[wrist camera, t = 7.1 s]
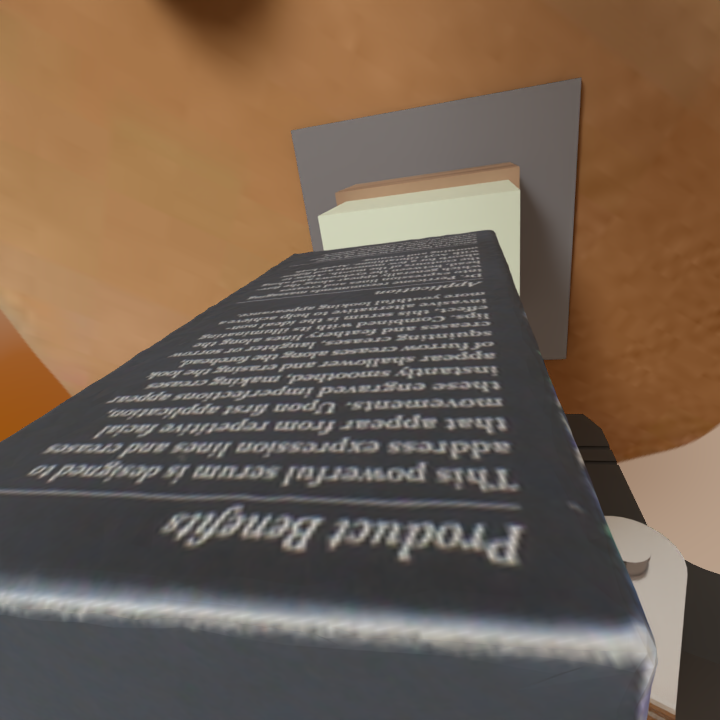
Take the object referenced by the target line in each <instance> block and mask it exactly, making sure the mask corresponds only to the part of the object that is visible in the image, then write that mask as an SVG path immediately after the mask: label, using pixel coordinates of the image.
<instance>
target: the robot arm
mask: <svg viewBox="0 0 720 720" xmlns="http://www.w3.org/2000/svg"><path fill="white" fill-rule="evenodd" d="M565 415H566V417H567V420H568V423H569V426H570V429H571V432H572V436H573V438H574V440H575V442H576V445H577V447H578V449H579V452H580V454H581V457H582V459H583V461H584V464H585V466H586V469H587V471H588V474H589V476H590V478H591V481H592V484H593V487H594V489H595V492H596V495H597V498H598V501H599V504H600V506H601V509H602V512H603V514H604V517H605V519H606V522H607V524H608V527H609V529H610V531H611V534H612V536H613V539H614V541H615V543H616V546H617V548H618V550H619V553H620V555H621V557H622V560H623V562H624V564H625V566H626V569H627V571H628V573H629V576H630V578H631V580H632V583H633V585H634V587H635V590H636V592H637V595H638V597H639V600H640V603H641V605H642V608H643V610H644V613H645V616H646V618H647V621H648V624H649V626H650V629H651V631H652V634H653V637H654V639H655V644H656V649H657V658H658V664H657V668H656V672H655V676H654V680H653V683H652V687H651V694H650V701H649V709H648V715H647V720H720V574H717V573H714V572H710V571H708V570H705V569H702V568H700V567H698V566H696V565H693V564H691V563H690V562H688V561H686V560H684V558H683V556H682V555H681V553H680V552H679V550H678V549H677V548H676V546H675V545H674V544H673V543H672V542H670V540H669V539H667V538H666V537H665V536H664V535H662V534H661V533H659V532H658V531H656V530H654V529H653V528H651V527H649V526H647V524H646V522H645V520H644V518H643V515H642V513H641V511H640V509H639V507H638V505H637V503H636V501H635V499H634V497H633V494H632V493H631V490H630V489H629V486H628V484H627V482H626V480H625V478H624V476H623V473H622V471H621V469H620V467H619V465H617V461H616V459H615V457H614V455H613V452H612V450H610V448H609V444H608V442H607V440H606V438H605V436H604V434H603V431H602V429H601V428H600V427H598V426H597V425H596V424H595V423H593V422H592V421H591V420H590V419H588V418H587V417H586V416H585V415H583V414H565Z"/></svg>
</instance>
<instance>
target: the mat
mask: <svg viewBox="0 0 720 720" xmlns="http://www.w3.org/2000/svg"><path fill="white" fill-rule="evenodd" d="M580 95H581V78H576V79H570V80H565V81H559V82H554V83H548V84H543V85H537V86H532V87H526V88H521V89H516V90H510V91H505V92H499V93H494V94H488V95H483V96H477V97H472V98H466V99H461V100H455V101H450V102H445V103H439V104H434V105H428V106H423V107H417V108H412V109H406V110H401V111H395V112H390V113H384V114H379V115H374V116H368V117H363V118H357V119H352V120H346V121H341V122H335V123H330V124H324V125H319V126H313V127H308V128H303V129H297V130H292V131H291V134H292V139H293V144H294V150H295V155H296V160H297V166H298V171H299V176H300V182H301V187H302V192H303V198H304V203H305V208H306V214H307V219H308V225H309V230H310V235H311V241H312V246H313V251H314V252H317V251H324V249H323V243H322V237H321V232H320V226H319V221H318V216H319V215H321V214H323V213H325V212H327V211H329V210H331V209H333V208H335V207H336V206H337V203H336V197H335V193H336V192H338V191H341V190H343V189H346V188H348V187H350V186H353V185H355V184H362V183H369V182H376V181H382V180H389V179H396V178H403V177H410V176H417V175H424V174H431V173H438V172H445V171H451V170H458V169H465V168H472V167H479V166H486V165H493V164H500V163H507V162H511V163H513V164H515V165H517V166H519V167H520V188H519V189H520V300H521V302H522V304H523V308H524V311H525V313H526V316H527V319H528V321H529V324H530V327H531V329H532V332H533V334H534V336H535V338H536V340H537V344H538V347H539V350H540V353H541V356H542V358H543V360H552V359H566V353H567V334H568V316H569V297H570V279H571V261H572V242H573V224H574V205H575V187H576V169H577V150H578V132H579V113H580Z"/></svg>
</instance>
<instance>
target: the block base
mask: <svg viewBox="0 0 720 720" xmlns="http://www.w3.org/2000/svg"><path fill="white" fill-rule="evenodd" d="M502 180H509V181H510V182H512V183H513V184H514V185H515V186H516V187H517V188H518V189H519V188H520V167H519V166H517V165H515V164H513V163H511V162H507V163H500V164H493V165H486V166H479V167H472V168H465V169H458V170H451V171H445V172H438V173H431V174H424V175H417V176H410V177H403V178H396V179H389V180H382V181H376V182H369V183H362V184H355V185H353V186H350V187H348V188H346V189H343V190H341V191H338V192H336V193H335V197H336V203H337V206H338V205H340V204H342V203H344V202H347V201H355V200H362V199H369V198H377V197H384V196H391V195H399V194H406V193H414V192H421V191H428V190H436V189H443V188H450V187H458V186H465V185H473V184H480V183H487V182H495V181H502Z"/></svg>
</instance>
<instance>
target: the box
mask: <svg viewBox="0 0 720 720" xmlns="http://www.w3.org/2000/svg"><path fill="white" fill-rule="evenodd" d="M657 664H658V658H657V649H656V644H655V639H654V637H653V634H652V631H651V629H650V626H649V624H648V621H647V618H646V616H645V613H644V610H643V608H642V605H641V603H640V600H639V597H638V595H637V592H636V590H635V587H634V585H633V583H632V580H631V578H630V576H629V573H628V571H627V569H626V566H625V564H624V562H623V560H622V557H621V555H620V553H619V550H618V548H617V546H616V543H615V541H614V539H613V536H612V534H611V531H610V529H609V527H608V524H607V522H606V519H605V517H604V514H603V512H602V509H601V506H600V504H599V501H598V498H597V495H596V492H595V489H594V487H593V484H592V481H591V478H590V476H589V474H588V471H587V469H586V466H585V464H584V461H583V459H582V457H581V454H580V452H579V449H578V447H577V445H576V442H575V440H574V438H573V436H572V432H571V429H570V426H569V423H568V420H567V417H566V415H565V413H564V411H563V409H562V406H561V404H560V402H559V400H558V398H557V395H556V392H555V389H554V387H553V384H552V382H551V380H550V377H549V375H548V372H547V369H546V367H545V364H544V361H543V358H542V356H541V353H540V350H539V347H538V344H537V340H536V338H535V336H534V334H533V332H532V329H531V327H530V324H529V321H528V319H527V316H526V313H525V311H524V308H523V304H522V302H521V300H520V296H519V294H518V292H517V289H516V287H515V284H514V281H513V278H512V275H511V272H510V269H509V265H508V263H507V262H506V258H505V257H504V254H503V251H502V249H501V247H500V244H499V242H498V239H497V236H496V233H495V232H494V231H493V230H481V231H474V232H468V233H461V234H451V235H444V236H437V237H428V238H422V239H411V240H405V241H397V242H389V243H382V244H374V245H364V246H358V247H349V248H341V249H334V250H325V251H317V252H308V253H302V254H293V255H292V256H291V257H289V258H287V259H286V260H284V261H282V262H281V263H280V264H278V265H277V266H275V267H273V268H271V269H270V270H268V271H267V272H266V273H265V274H263V275H261V276H260V277H258V278H257V279H256V280H254V281H252V282H250V283H249V284H247V285H246V286H244V287H243V288H240V289H239V290H238V291H236V292H235V293H233V294H231V295H230V296H228V297H227V298H225V299H223V300H222V301H220V302H219V303H218V304H216V305H214V306H212V307H210V308H208V309H207V310H206V311H205V312H203V313H202V314H199V315H198V316H196V317H195V318H194V319H193V320H191V321H190V322H188V323H187V324H185V325H183V326H182V327H180V328H178V329H177V330H175V331H174V332H172V333H170V334H169V335H168V336H166V337H165V338H164V339H162V340H161V341H159V342H157V343H156V344H154V345H153V346H151V347H150V348H148V349H146V350H144V351H142V352H140V353H139V354H137V355H136V356H135V357H133V358H132V359H131V360H129V361H128V362H126V363H125V364H123V365H122V366H120V367H119V368H117V369H116V370H115V371H113V372H111V373H110V374H108V375H107V376H105V377H103V378H102V379H100V380H98V381H97V382H95V383H93V384H91V385H90V386H88V387H87V388H85V389H84V390H82V391H81V392H79V393H78V394H76V395H75V396H73V397H71V398H70V399H68V400H66V401H65V402H63V403H62V404H60V405H59V406H57V407H56V408H54V409H53V410H51V411H50V412H48V413H47V414H45V415H44V416H42V417H41V418H39V419H37V420H35V421H34V422H32V423H31V424H29V425H27V426H26V427H24V428H23V429H21V430H20V431H18V432H17V433H15V434H13V435H12V436H10V437H8V438H7V439H5V440H3V441H2V442H0V720H647V715H648V709H649V701H650V694H651V687H652V683H653V680H654V676H655V672H656V668H657Z"/></svg>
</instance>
